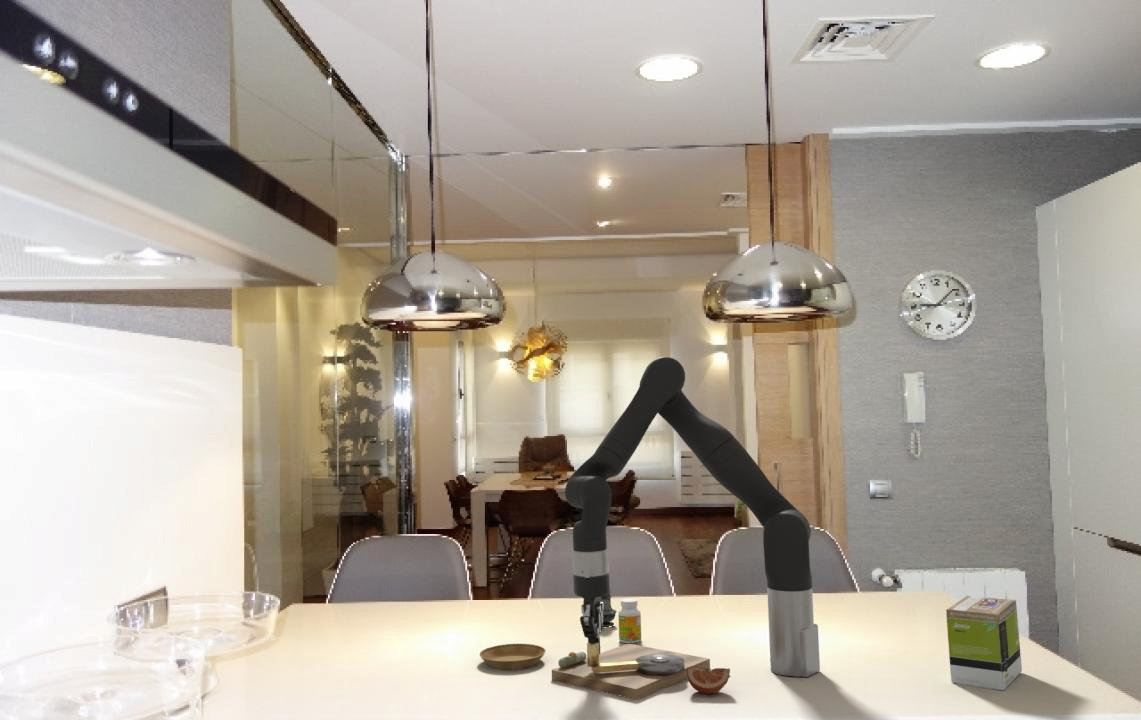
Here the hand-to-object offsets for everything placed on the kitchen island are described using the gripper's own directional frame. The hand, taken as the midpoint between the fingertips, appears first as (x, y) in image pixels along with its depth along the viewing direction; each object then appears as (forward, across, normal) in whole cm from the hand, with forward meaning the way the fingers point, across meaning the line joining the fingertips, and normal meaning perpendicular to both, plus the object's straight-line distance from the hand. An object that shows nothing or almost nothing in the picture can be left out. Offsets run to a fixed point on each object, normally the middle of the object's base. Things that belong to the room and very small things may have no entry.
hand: (594, 655), depth 183 cm
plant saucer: (+5, -9, -21) cm, 24 cm away
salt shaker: (+6, -46, -8) cm, 47 cm away
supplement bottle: (+6, -32, +2) cm, 32 cm away
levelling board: (+5, -5, +7) cm, 10 cm away
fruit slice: (+5, +6, +24) cm, 25 cm away
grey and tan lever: (+3, 0, +9) cm, 9 cm away
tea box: (+6, -13, +77) cm, 79 cm away
